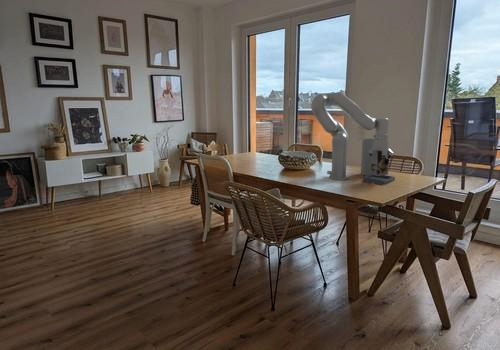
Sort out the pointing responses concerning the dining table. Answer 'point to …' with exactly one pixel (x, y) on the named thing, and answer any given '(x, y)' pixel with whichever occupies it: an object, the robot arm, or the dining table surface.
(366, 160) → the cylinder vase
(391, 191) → the dining table surface
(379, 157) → the coffee box
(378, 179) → the tray
